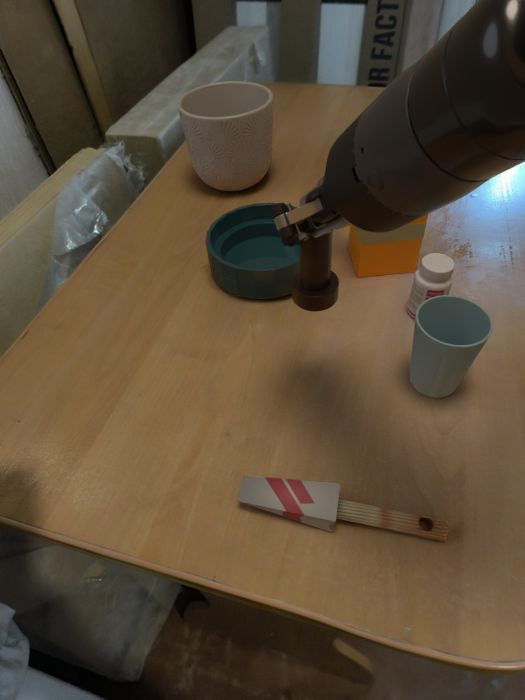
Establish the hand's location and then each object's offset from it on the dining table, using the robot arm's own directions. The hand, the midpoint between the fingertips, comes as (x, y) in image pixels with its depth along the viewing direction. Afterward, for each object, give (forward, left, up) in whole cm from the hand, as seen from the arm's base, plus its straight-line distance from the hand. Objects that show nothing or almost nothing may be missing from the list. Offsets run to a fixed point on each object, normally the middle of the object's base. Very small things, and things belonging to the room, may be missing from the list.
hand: (304, 229), depth 44 cm
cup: (-15, +4, -20) cm, 26 cm away
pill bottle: (-17, -8, -20) cm, 28 cm away
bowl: (+5, -20, -20) cm, 29 cm away
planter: (+11, -48, -20) cm, 53 cm away
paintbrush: (-2, +20, -20) cm, 28 cm away
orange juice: (-13, -20, -20) cm, 31 cm away
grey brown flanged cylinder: (-1, +2, -7) cm, 7 cm away
